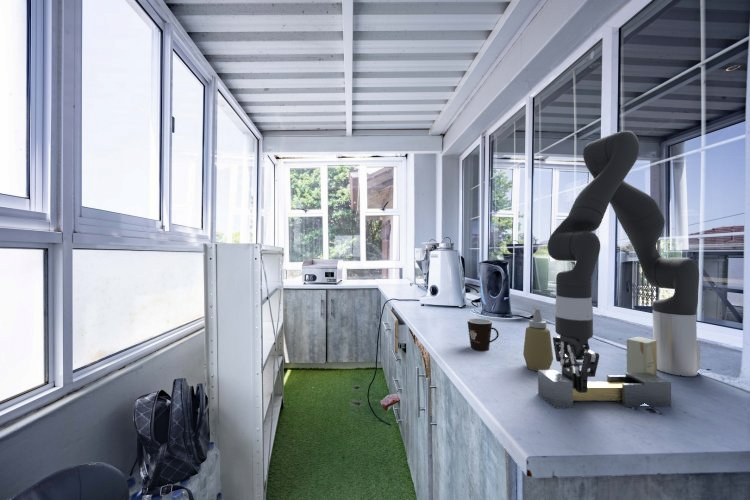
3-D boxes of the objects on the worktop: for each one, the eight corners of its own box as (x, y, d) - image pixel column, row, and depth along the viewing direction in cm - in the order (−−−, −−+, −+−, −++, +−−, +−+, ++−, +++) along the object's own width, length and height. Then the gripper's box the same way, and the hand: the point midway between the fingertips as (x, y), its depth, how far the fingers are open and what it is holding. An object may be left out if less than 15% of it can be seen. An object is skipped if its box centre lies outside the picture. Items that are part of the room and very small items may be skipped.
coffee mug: (464, 345, 116) (463, 318, 116) (485, 344, 117) (485, 318, 117) (476, 355, 105) (476, 326, 105) (501, 354, 105) (500, 325, 105)
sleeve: (650, 395, 75) (650, 372, 75) (671, 406, 70) (671, 382, 70) (607, 395, 75) (607, 372, 75) (625, 406, 70) (624, 382, 70)
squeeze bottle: (557, 374, 88) (557, 312, 88) (527, 372, 89) (527, 311, 89) (547, 364, 96) (547, 307, 96) (520, 362, 97) (519, 306, 97)
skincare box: (646, 391, 77) (646, 343, 77) (626, 385, 81) (625, 338, 81) (658, 386, 80) (657, 339, 80) (637, 380, 84) (637, 335, 84)
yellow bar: (621, 393, 74) (621, 366, 74) (635, 401, 70) (635, 373, 70) (547, 393, 75) (547, 366, 75) (557, 401, 71) (556, 373, 71)
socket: (555, 393, 76) (554, 369, 76) (573, 408, 69) (572, 381, 69) (538, 393, 76) (537, 369, 76) (554, 408, 69) (554, 381, 69)
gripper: (612, 322, 66) (613, 402, 65) (570, 309, 80) (571, 375, 80) (577, 322, 66) (578, 402, 66) (541, 309, 80) (542, 375, 80)
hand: (574, 386), depth 73 cm, fingers open, 4 cm apart
